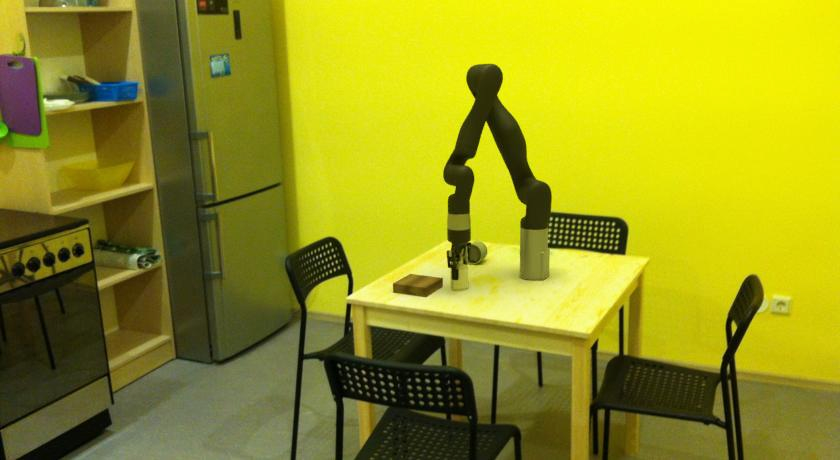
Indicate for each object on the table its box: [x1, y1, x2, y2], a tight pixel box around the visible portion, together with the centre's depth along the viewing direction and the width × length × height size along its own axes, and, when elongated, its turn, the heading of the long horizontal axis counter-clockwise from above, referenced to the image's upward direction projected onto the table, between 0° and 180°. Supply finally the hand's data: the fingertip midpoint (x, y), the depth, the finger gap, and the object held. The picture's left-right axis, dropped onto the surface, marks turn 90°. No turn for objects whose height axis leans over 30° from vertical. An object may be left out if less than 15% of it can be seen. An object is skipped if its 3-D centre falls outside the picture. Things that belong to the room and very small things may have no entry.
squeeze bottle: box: [450, 257, 469, 291], centre depth 262 cm, size 4×6×12 cm
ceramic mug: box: [467, 240, 488, 266], centre depth 295 cm, size 11×8×8 cm
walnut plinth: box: [392, 273, 444, 298], centre depth 263 cm, size 12×12×3 cm
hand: (459, 277), depth 262 cm, fingers open, 5 cm apart
